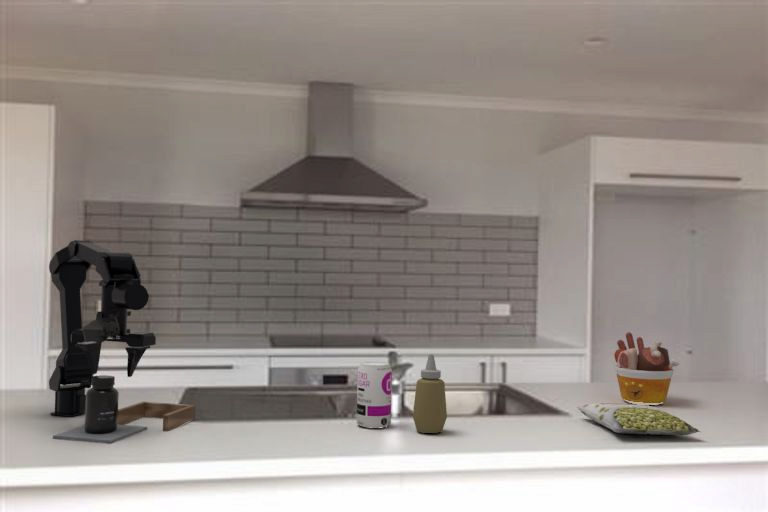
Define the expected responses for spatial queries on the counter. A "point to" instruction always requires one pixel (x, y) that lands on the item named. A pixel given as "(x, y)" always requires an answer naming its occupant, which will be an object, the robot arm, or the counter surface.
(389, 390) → the supplement can
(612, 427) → the frozen beans
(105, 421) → the supplement bottle
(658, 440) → the counter surface
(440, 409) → the squeeze bottle
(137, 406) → the walnut frame
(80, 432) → the grey mat
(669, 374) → the bucket of meat
